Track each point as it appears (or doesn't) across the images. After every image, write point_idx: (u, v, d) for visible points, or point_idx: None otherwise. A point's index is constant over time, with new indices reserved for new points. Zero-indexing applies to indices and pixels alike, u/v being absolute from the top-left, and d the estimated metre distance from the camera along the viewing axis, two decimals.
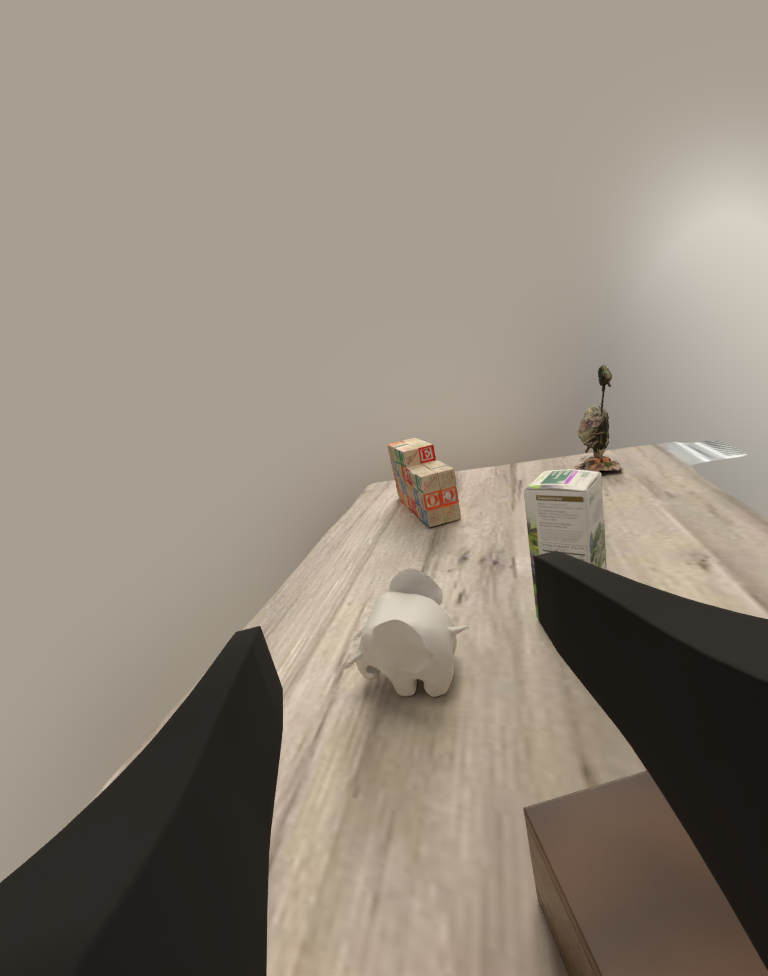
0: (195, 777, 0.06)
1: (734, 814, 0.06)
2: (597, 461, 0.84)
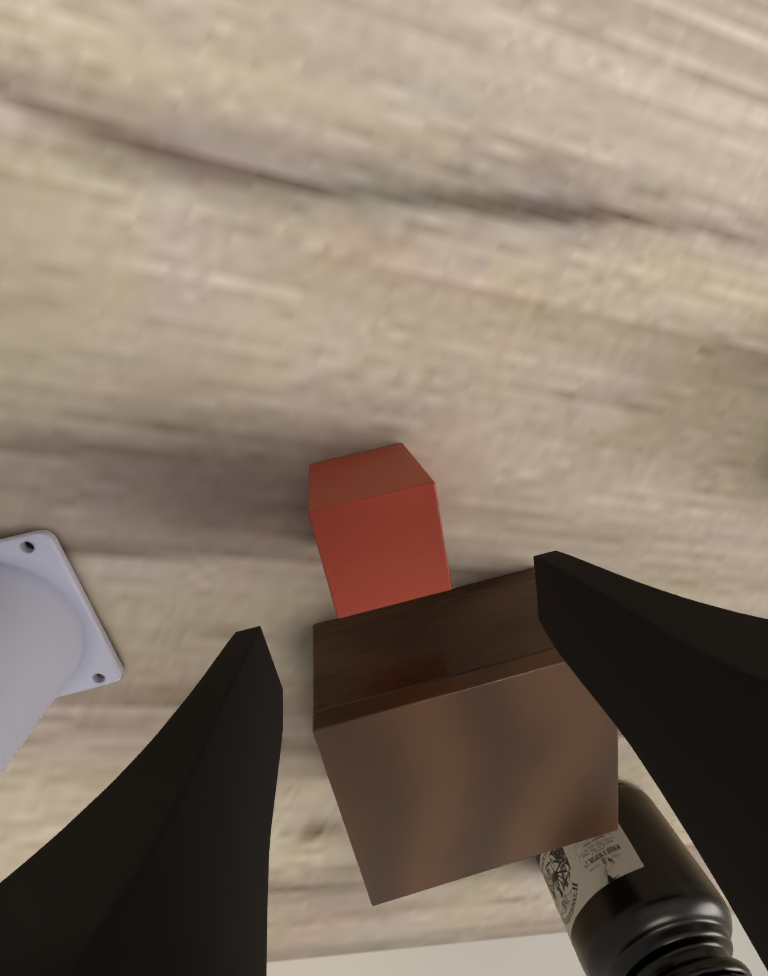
0: (195, 777, 0.06)
1: (734, 814, 0.06)
2: None
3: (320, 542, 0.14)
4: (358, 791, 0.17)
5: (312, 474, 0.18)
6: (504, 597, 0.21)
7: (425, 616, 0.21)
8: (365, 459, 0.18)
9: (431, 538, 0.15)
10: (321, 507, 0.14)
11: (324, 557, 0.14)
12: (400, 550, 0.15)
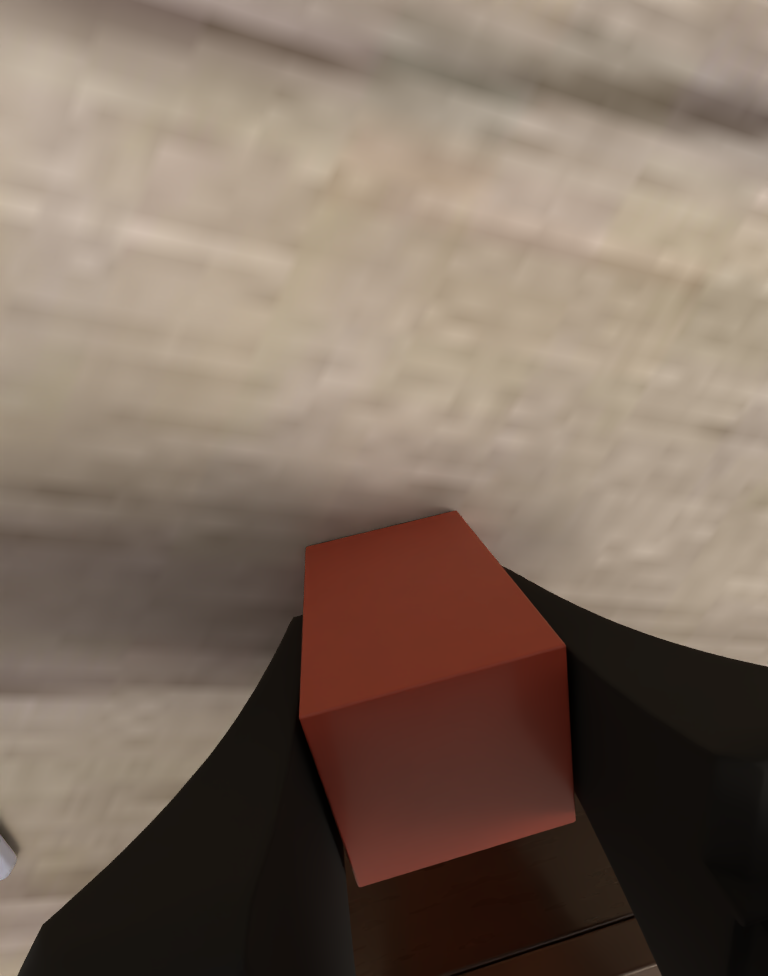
0: (293, 750, 0.06)
1: (639, 844, 0.06)
2: None
3: (324, 769, 0.07)
4: None
5: (310, 576, 0.10)
6: None
7: None
8: (400, 546, 0.11)
9: (548, 745, 0.07)
10: (327, 704, 0.07)
11: (332, 794, 0.07)
12: (485, 770, 0.07)
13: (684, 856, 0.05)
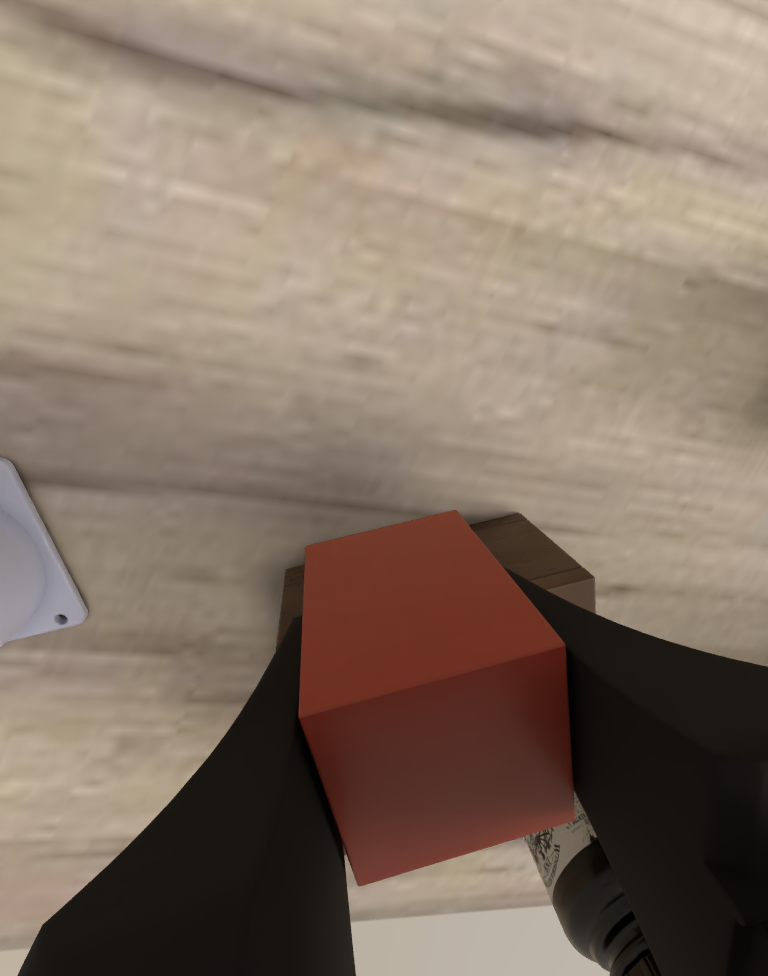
0: (292, 749, 0.06)
1: (639, 844, 0.06)
2: None
3: (324, 767, 0.07)
4: None
5: (310, 575, 0.10)
6: (482, 539, 0.20)
7: None
8: (399, 545, 0.11)
9: (548, 743, 0.07)
10: (326, 702, 0.07)
11: (332, 793, 0.07)
12: (485, 768, 0.07)
13: (684, 856, 0.05)
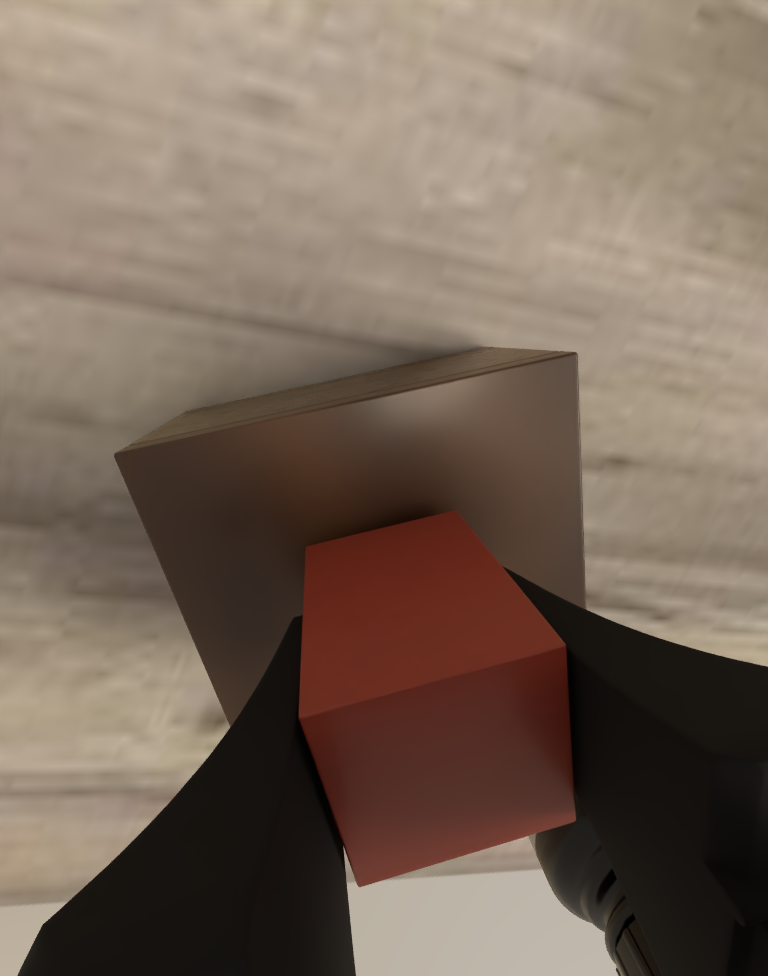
0: (293, 749, 0.06)
1: (639, 844, 0.06)
2: None
3: (324, 768, 0.07)
4: (201, 573, 0.12)
5: (310, 575, 0.10)
6: (435, 362, 0.15)
7: (327, 385, 0.15)
8: (400, 545, 0.11)
9: (548, 743, 0.07)
10: (327, 703, 0.07)
11: (332, 793, 0.07)
12: (485, 769, 0.07)
13: (684, 856, 0.05)
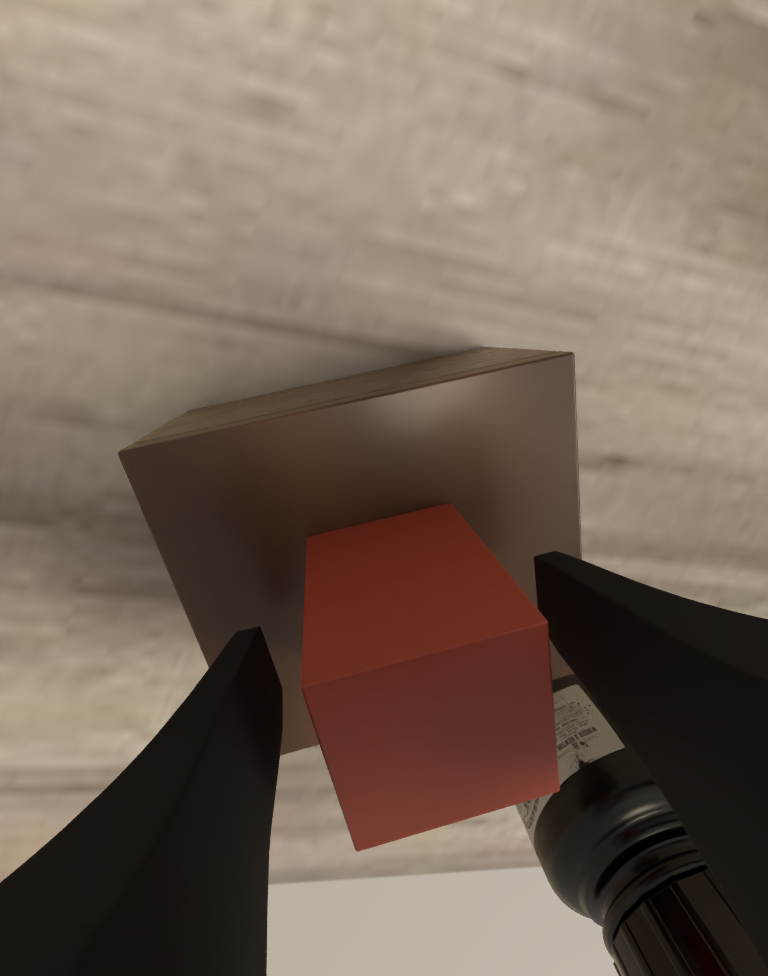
0: (195, 776, 0.06)
1: (734, 814, 0.06)
2: None
3: (324, 736, 0.07)
4: (203, 570, 0.12)
5: (311, 563, 0.11)
6: (434, 362, 0.16)
7: (328, 385, 0.15)
8: (396, 535, 0.11)
9: (533, 716, 0.08)
10: (327, 675, 0.07)
11: (331, 761, 0.08)
12: (474, 739, 0.08)
13: None
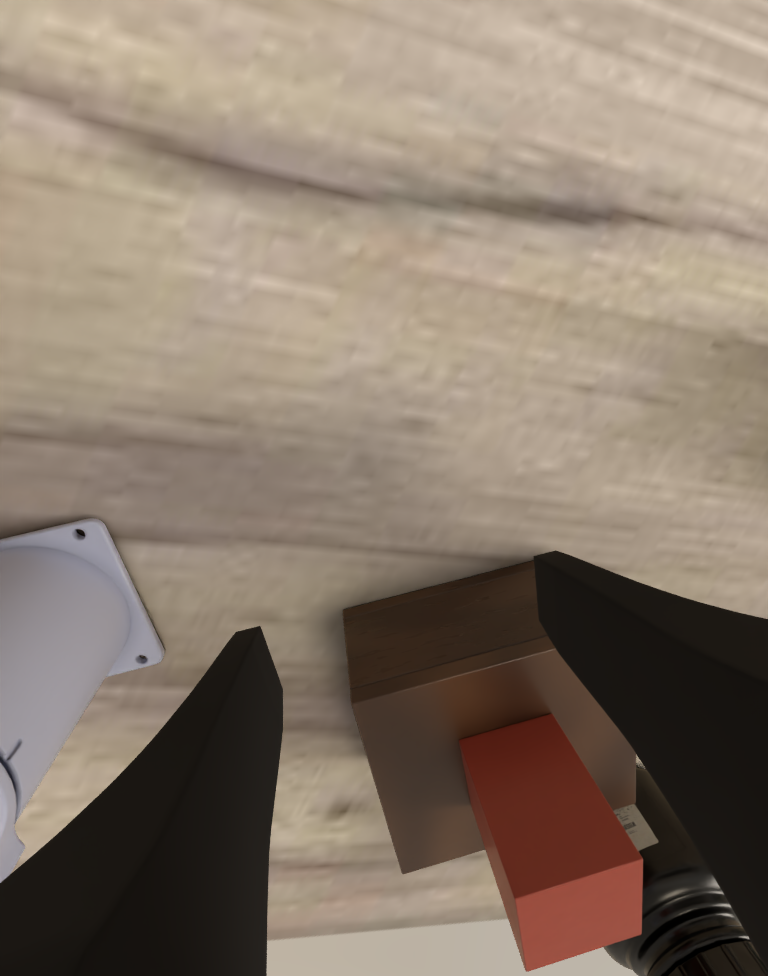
0: (195, 777, 0.06)
1: (734, 814, 0.06)
2: None
3: (521, 919, 0.14)
4: (392, 762, 0.18)
5: (474, 774, 0.17)
6: (525, 582, 0.22)
7: (450, 600, 0.22)
8: (524, 750, 0.17)
9: (630, 901, 0.14)
10: (526, 890, 0.13)
11: (523, 930, 0.14)
12: (598, 914, 0.14)
13: None
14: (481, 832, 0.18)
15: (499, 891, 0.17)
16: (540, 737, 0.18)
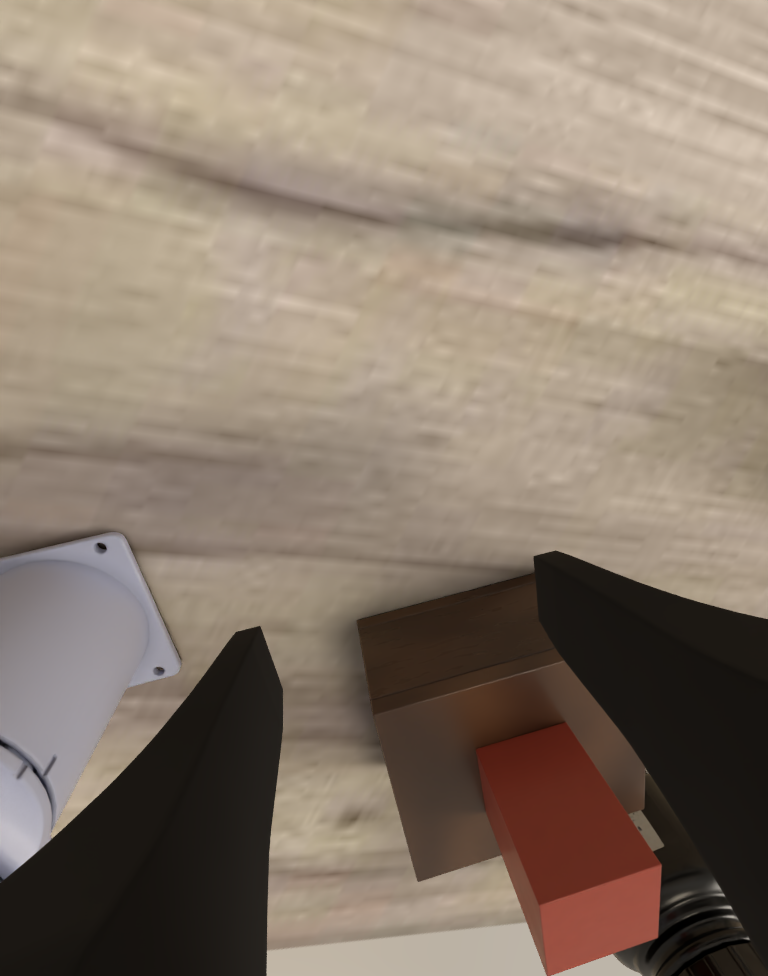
0: (194, 777, 0.06)
1: (734, 814, 0.06)
2: None
3: (544, 925, 0.14)
4: (410, 772, 0.19)
5: (493, 783, 0.17)
6: None
7: (464, 611, 0.22)
8: (541, 759, 0.18)
9: (649, 905, 0.15)
10: (550, 897, 0.14)
11: (546, 935, 0.14)
12: (617, 918, 0.15)
13: None
14: (498, 839, 0.18)
15: None
16: (555, 746, 0.18)
